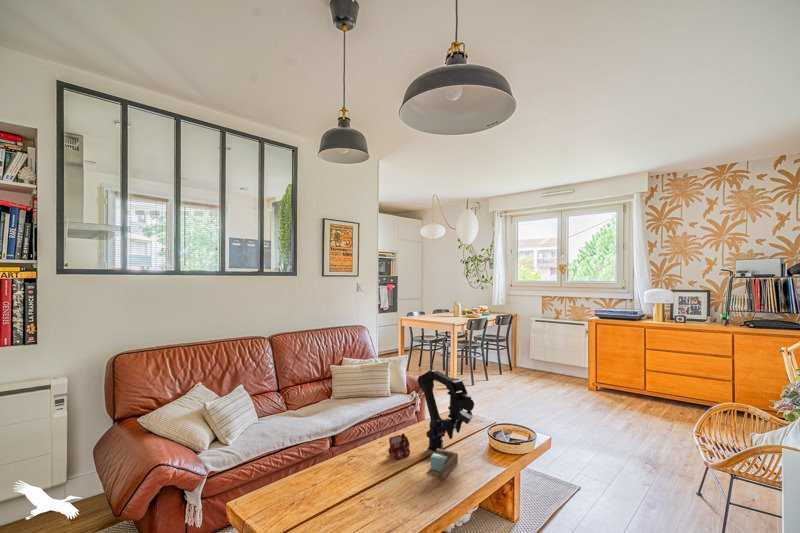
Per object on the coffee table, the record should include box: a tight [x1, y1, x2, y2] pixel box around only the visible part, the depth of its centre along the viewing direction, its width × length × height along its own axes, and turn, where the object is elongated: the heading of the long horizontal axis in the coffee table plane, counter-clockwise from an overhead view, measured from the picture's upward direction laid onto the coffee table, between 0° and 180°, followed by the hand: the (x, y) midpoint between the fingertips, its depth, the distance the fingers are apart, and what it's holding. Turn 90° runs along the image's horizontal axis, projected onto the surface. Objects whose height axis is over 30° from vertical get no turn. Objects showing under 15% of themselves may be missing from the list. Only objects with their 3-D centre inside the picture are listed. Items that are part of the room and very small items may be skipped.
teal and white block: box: [430, 452, 448, 473], centre depth 184 cm, size 7×4×6 cm, turn 62°
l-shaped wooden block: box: [428, 448, 459, 482], centre depth 184 cm, size 11×19×5 cm, turn 152°
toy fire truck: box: [387, 433, 411, 460], centre depth 197 cm, size 7×12×10 cm, turn 126°
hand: (454, 435), depth 194 cm, fingers open, 9 cm apart
